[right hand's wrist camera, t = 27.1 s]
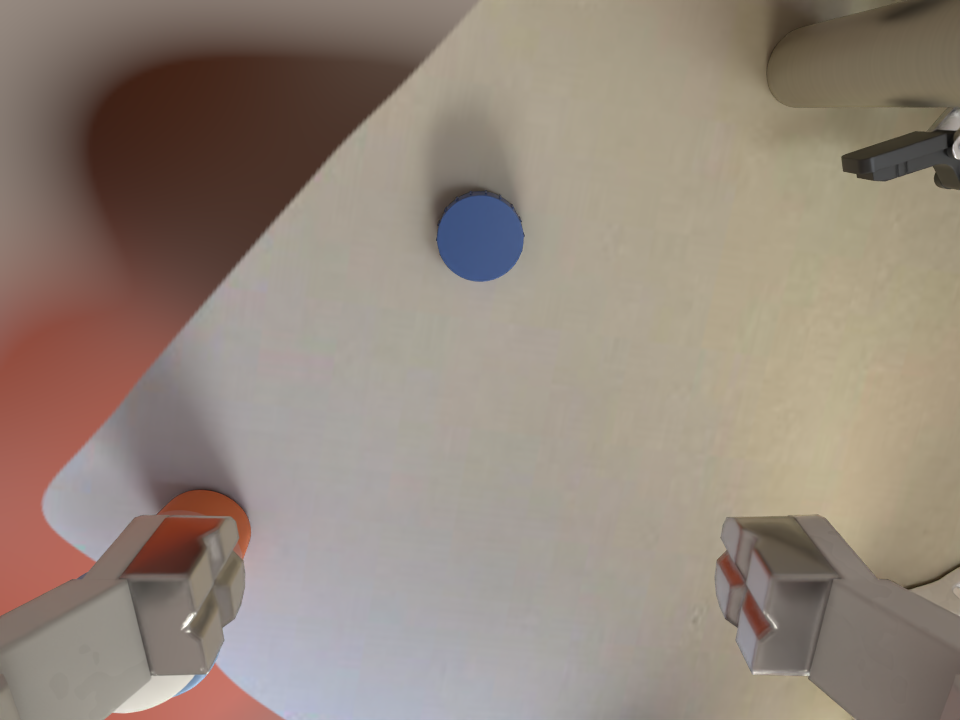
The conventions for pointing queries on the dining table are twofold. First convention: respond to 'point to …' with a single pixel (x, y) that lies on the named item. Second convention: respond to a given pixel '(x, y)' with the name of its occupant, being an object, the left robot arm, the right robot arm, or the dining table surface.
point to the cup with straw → (221, 505)
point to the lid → (480, 236)
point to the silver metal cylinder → (872, 59)
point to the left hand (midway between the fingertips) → (839, 72)
